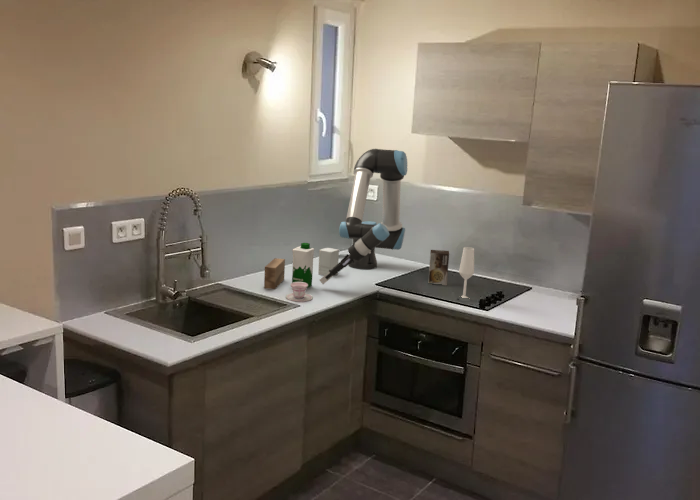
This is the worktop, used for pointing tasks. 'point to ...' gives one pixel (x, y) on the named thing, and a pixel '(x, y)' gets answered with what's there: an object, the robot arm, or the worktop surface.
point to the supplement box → (327, 260)
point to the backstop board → (274, 273)
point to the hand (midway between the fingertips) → (321, 281)
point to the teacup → (299, 292)
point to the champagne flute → (467, 266)
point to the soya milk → (303, 264)
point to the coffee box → (438, 267)
